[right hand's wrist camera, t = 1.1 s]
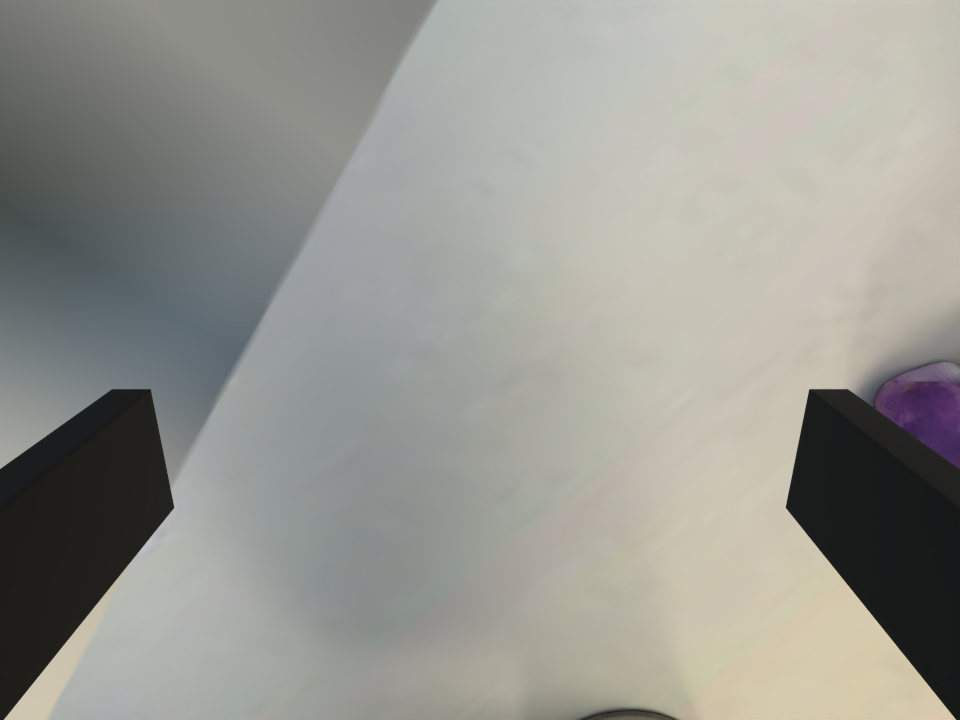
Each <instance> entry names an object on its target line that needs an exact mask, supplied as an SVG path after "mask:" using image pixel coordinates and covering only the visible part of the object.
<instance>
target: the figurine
mask: <svg viewBox="0 0 960 720" xmlns="http://www.w3.org/2000/svg"><path fill="white" fill-rule="evenodd" d="M874 408H875V409H876V410H877V411H879V412H880V413H882V414H883V415H885V416H886V417H887V418H889V419H890V420H892V421H893V422H894V423H896V424H897V425H899V426H900V427H901V428H903V429H904V430H906V431H907V432H908V433H910V434H911V435H913V436H914V437H915V438H917V439H918V440H920V441H921V442H922V443H924V444H925V445H927V446H928V447H929V448H931V449H932V450H934V451H935V452H936V453H938V454H939V455H941V456H942V457H943V458H945V459H946V460H948V461H949V462H951V463H952V464H953V465H955V466H956V467H958V468H959V469H960V366H958V365H957V364H955V363H951V362H940V363H933V364H930V365H927V366H926V367H920V368H918V369H915V370H911V371H908V372H906V373H905V374H902V375H899V376H898V377H895V378H893V379H891V380H889V381H887V382H886V383H885V385H884V386H883V387H881V388H880V389H879V391H878V394H877V396H876V399H875V407H874Z"/></svg>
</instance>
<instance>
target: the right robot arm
mask: <svg viewBox="0 0 960 720" xmlns="http://www.w3.org/2000/svg"><path fill="white" fill-rule="evenodd" d="M173 509H174V504H173V499H172V494H171V489H170V484H169V479H168V474H167V469H166V464H165V459H164V454H163V449H162V444H161V439H160V434H159V429H158V424H157V419H156V414H155V409H154V404H153V399H152V394H151V390H150V389H112V390H111V391H109V392H108V393H106V394H105V395H104V396H102V397H101V398H99V399H98V400H97V401H95V402H94V403H92V404H91V405H90V406H88V407H87V408H85V409H84V410H83V411H81V412H80V413H78V414H77V415H75V416H74V417H73V418H71V419H70V420H68V421H67V422H66V423H64V424H63V425H61V426H60V427H59V428H57V429H56V430H54V431H53V432H52V433H50V434H49V435H47V436H46V437H45V438H43V439H42V440H40V441H39V442H38V443H36V444H35V445H33V446H32V447H31V448H29V449H28V450H26V451H25V452H24V453H22V454H21V455H19V456H18V457H17V458H15V459H14V460H12V461H11V462H9V463H8V464H7V465H5V466H4V467H3V468H1V469H0V720H4V719H5V717H6V716H7V715H8V714H9V712H10V711H11V710H12V709H13V708H14V706H15V705H16V704H17V703H18V701H19V700H20V699H21V698H22V696H23V695H24V694H25V693H26V691H27V690H28V689H29V688H30V686H31V685H32V684H33V683H34V681H35V680H36V679H37V678H38V676H39V675H40V674H41V673H42V671H43V670H44V669H45V668H46V666H47V665H48V664H49V663H50V661H51V660H52V659H53V658H54V657H55V655H56V654H57V653H58V652H59V650H60V649H61V648H62V647H63V645H64V644H65V643H66V642H67V640H68V639H69V638H70V637H71V635H72V634H73V633H74V632H75V630H76V629H77V628H78V627H79V625H80V624H81V623H82V622H83V620H84V619H85V618H86V617H87V615H88V614H89V613H90V612H91V611H92V609H93V608H94V607H95V606H96V604H97V603H98V602H99V601H100V599H101V598H102V597H103V596H104V594H105V593H106V592H107V591H108V589H109V588H110V587H111V586H112V584H113V583H114V582H115V581H116V579H117V578H118V577H119V576H120V574H121V573H122V572H123V571H124V569H125V568H126V567H127V566H128V565H129V563H130V562H131V561H132V560H133V558H134V557H135V556H136V555H137V553H138V552H139V551H140V550H141V548H142V547H143V546H144V545H145V543H146V542H147V541H148V540H149V538H150V537H151V536H152V535H153V533H154V532H155V531H156V530H157V528H158V527H159V526H160V525H161V523H162V522H163V521H164V520H165V519H166V517H167V516H168V515H169V514H170V512H171V511H172V510H173ZM786 509H787V510H788V511H789V512H790V514H791V515H792V516H793V517H794V519H795V520H796V521H797V522H798V523H799V525H800V526H801V527H802V528H803V530H804V531H805V532H806V533H807V535H808V536H809V537H810V538H811V540H812V541H813V542H814V543H815V545H816V546H817V547H818V548H819V550H820V551H821V552H822V553H823V555H824V556H825V557H826V558H827V560H828V561H829V562H830V563H831V565H832V566H833V567H834V568H835V569H836V571H837V572H838V573H839V574H840V576H841V577H842V578H843V579H844V581H845V582H846V583H847V584H848V586H849V587H850V588H851V589H852V591H853V592H854V593H855V594H856V596H857V597H858V598H859V599H860V601H861V602H862V603H863V604H864V606H865V607H866V608H867V609H868V611H869V612H870V613H871V614H872V615H873V617H874V618H875V619H876V620H877V622H878V623H879V624H880V625H881V627H882V628H883V629H884V630H885V632H886V633H887V634H888V635H889V637H890V638H891V639H892V640H893V642H894V643H895V644H896V645H897V647H898V648H899V649H900V650H901V652H902V653H903V654H904V655H905V657H906V658H907V659H908V660H909V661H910V663H911V664H912V665H913V666H914V668H915V669H916V670H917V671H918V673H919V674H920V675H921V676H922V678H923V679H924V680H925V681H926V683H927V684H928V685H929V686H930V688H931V689H932V690H933V691H934V693H935V694H936V695H937V696H938V698H939V699H940V700H941V701H942V703H943V704H944V705H945V706H946V708H947V709H948V710H949V711H950V712H951V714H952V715H953V716H954V717H955V719H956V720H960V469H959V468H958V467H956V466H955V465H953V464H952V463H951V462H949V461H948V460H946V459H945V458H943V457H942V456H941V455H939V454H938V453H936V452H935V451H934V450H932V449H931V448H929V447H928V446H927V445H925V444H924V443H922V442H921V441H920V440H918V439H917V438H915V437H914V436H913V435H911V434H910V433H908V432H907V431H906V430H904V429H903V428H901V427H900V426H899V425H897V424H896V423H894V422H893V421H892V420H890V419H889V418H887V417H886V416H885V415H883V414H882V413H880V412H879V411H877V410H876V409H875V408H873V407H872V406H870V405H869V404H868V403H866V402H865V401H863V400H862V399H861V398H859V397H858V396H856V395H855V394H854V393H852V392H851V391H849V390H848V389H809V394H808V399H807V404H806V409H805V414H804V419H803V424H802V429H801V434H800V439H799V444H798V449H797V454H796V459H795V464H794V469H793V474H792V479H791V484H790V489H789V494H788V499H787V504H786ZM585 720H673V719H670V718H668V717H665V716H662V715H658V714H654V713H648V712H639V711H620V712H611V713H605V714H601V715H597V716H593V717H590V718H587V719H585Z"/></svg>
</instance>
